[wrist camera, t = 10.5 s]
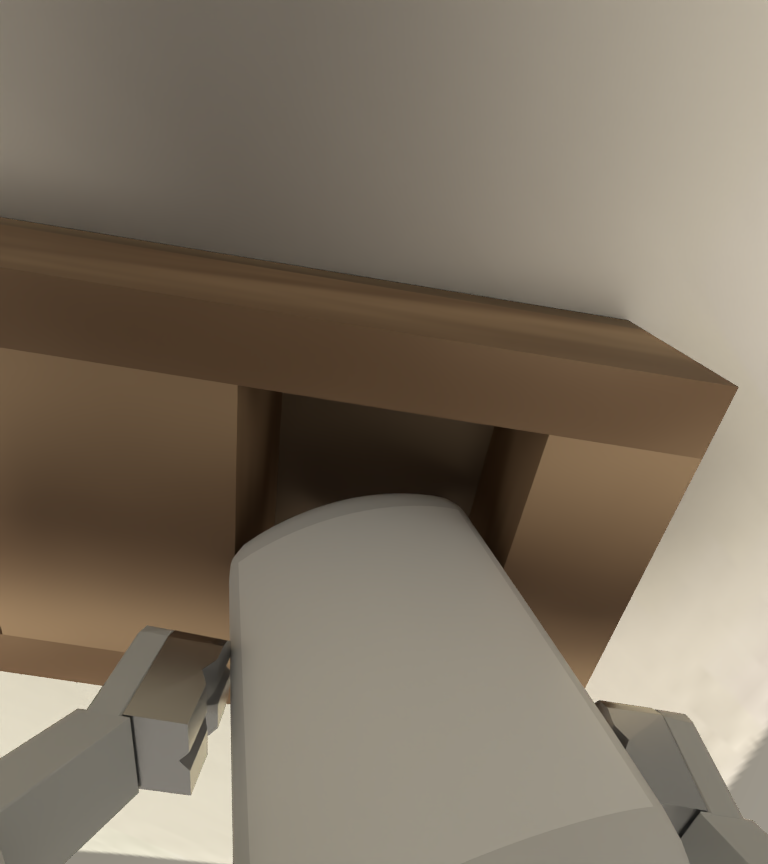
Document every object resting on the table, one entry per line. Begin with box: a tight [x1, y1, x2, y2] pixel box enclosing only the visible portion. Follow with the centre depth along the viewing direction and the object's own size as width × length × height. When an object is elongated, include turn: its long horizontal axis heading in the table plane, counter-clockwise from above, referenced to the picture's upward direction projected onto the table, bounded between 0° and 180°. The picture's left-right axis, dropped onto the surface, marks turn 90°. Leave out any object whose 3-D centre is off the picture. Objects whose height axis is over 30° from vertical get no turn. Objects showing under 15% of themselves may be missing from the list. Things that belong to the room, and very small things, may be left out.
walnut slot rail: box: [0, 217, 738, 704], centre depth 13 cm, size 11×24×5 cm, turn 82°
